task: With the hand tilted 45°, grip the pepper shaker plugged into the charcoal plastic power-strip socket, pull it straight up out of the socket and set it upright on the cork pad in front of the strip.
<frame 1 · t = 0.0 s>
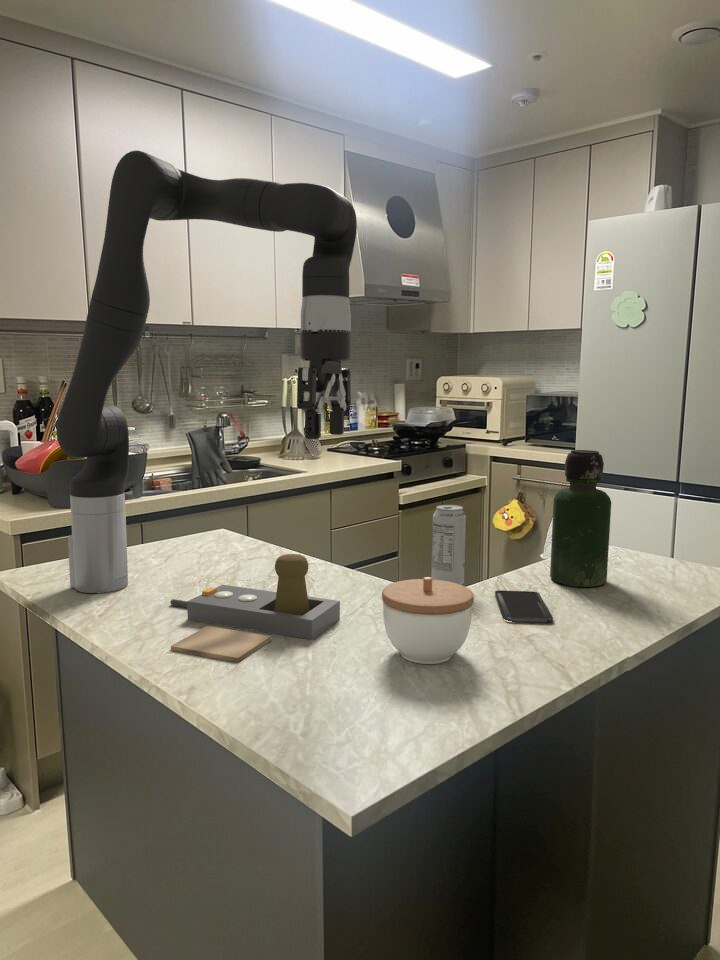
hand: (325, 436, 109), 29 cm above the countertop, tool pointing down, fingers open, 8 cm apart
green bottle: (577, 581, 136), on the countertop
energy drink can: (447, 587, 132), on the countertop
charging strip: (264, 619, 113), on the countertop
lidded bowl: (426, 655, 99), on the countertop
pepper shaker: (291, 624, 111), resting in charging strip
cork pad: (222, 644, 102), on the countertop
phone: (522, 611, 120), on the countertop
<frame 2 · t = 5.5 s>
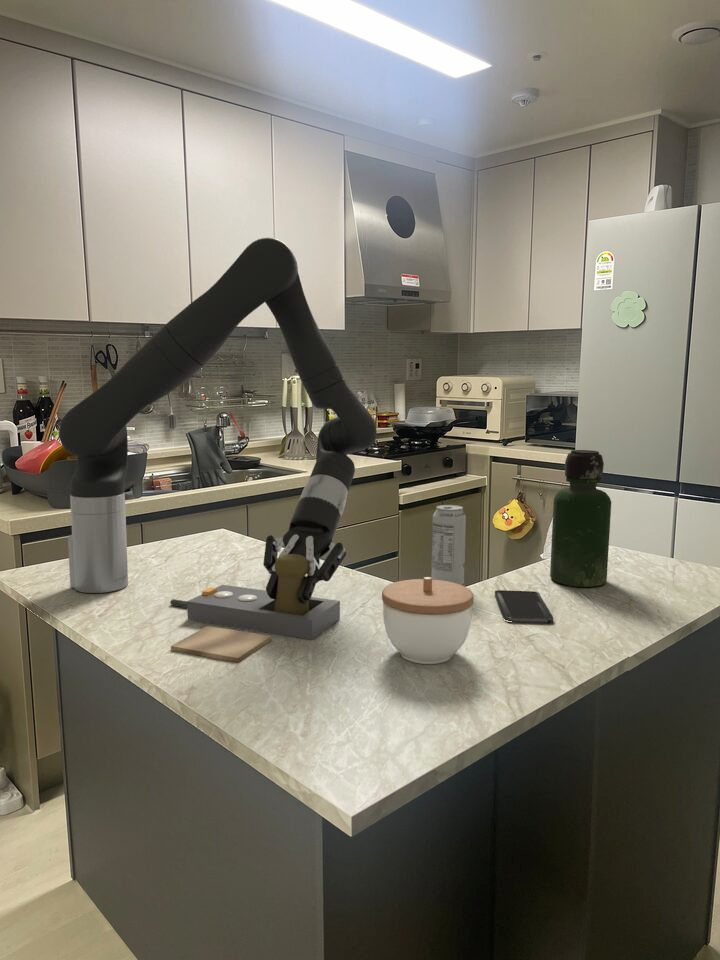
hand: (286, 598, 109), 5 cm above the countertop, tool tilted 45°, fingers closed on pepper shaker, 4 cm apart
pepper shaker: (291, 624, 111), resting in charging strip, touching gripper
everything else where it was.
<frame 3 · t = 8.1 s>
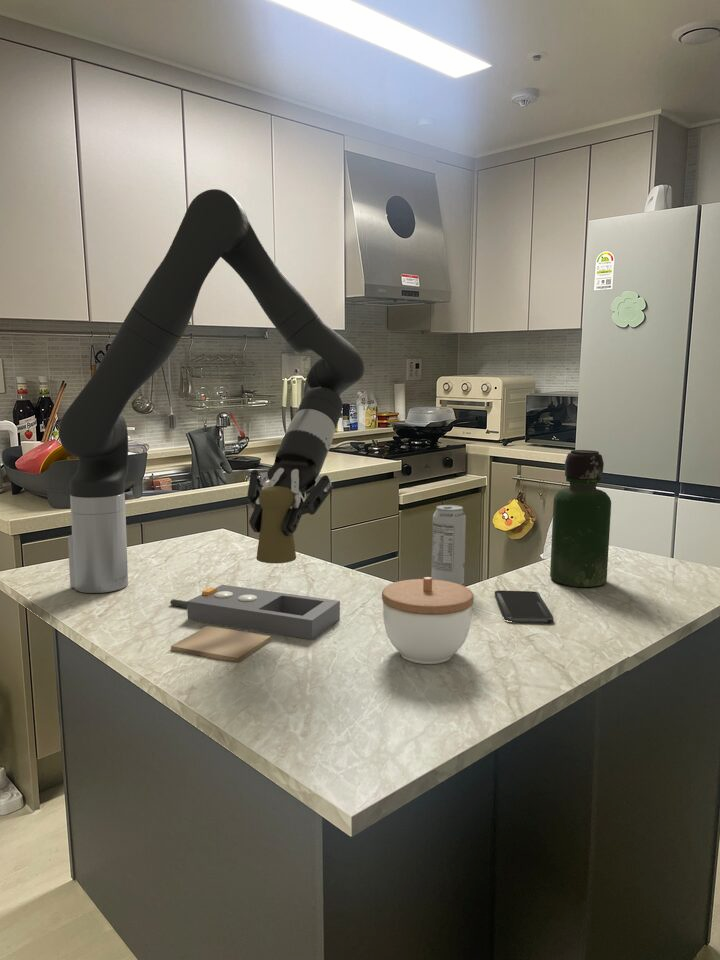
hand: (270, 530, 106), 16 cm above the countertop, tool tilted 45°, fingers closed on pepper shaker, 4 cm apart
pepper shaker: (276, 559, 108), point 11 cm above the countertop, touching gripper
everything else where it was.
when the fingers open (6 cm above the countertop, at t = 10.9 s): pepper shaker drops 1 cm, resting on cork pad.
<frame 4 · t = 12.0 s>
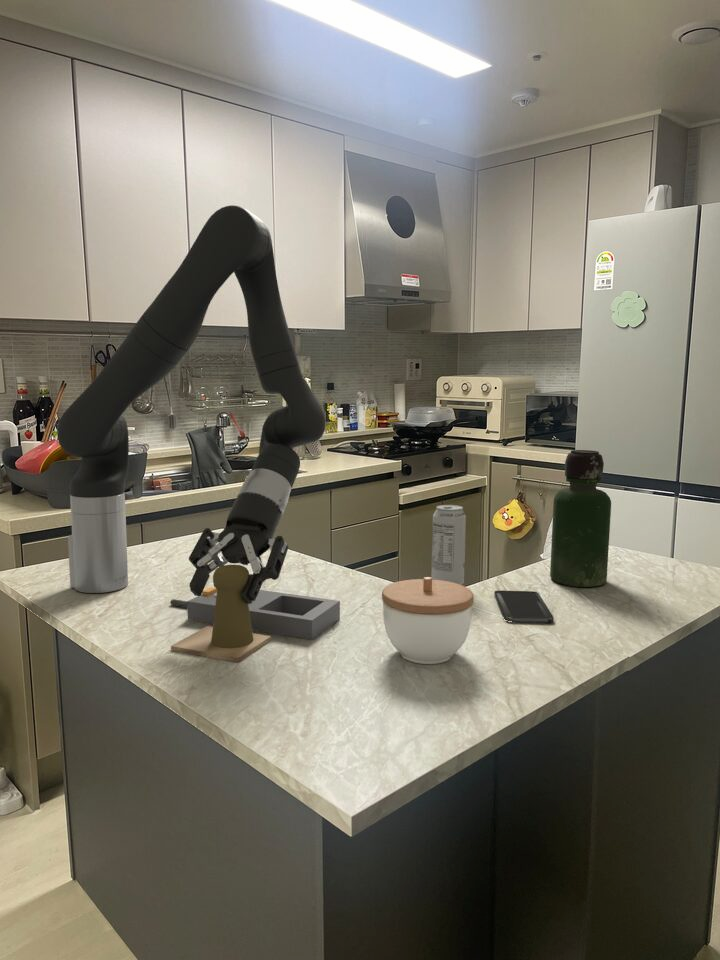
hand: (219, 597, 101), 7 cm above the countertop, tool tilted 45°, fingers open, 8 cm apart
pepper shaker: (232, 641, 102), resting on cork pad, touching gripper
everything else where it was.
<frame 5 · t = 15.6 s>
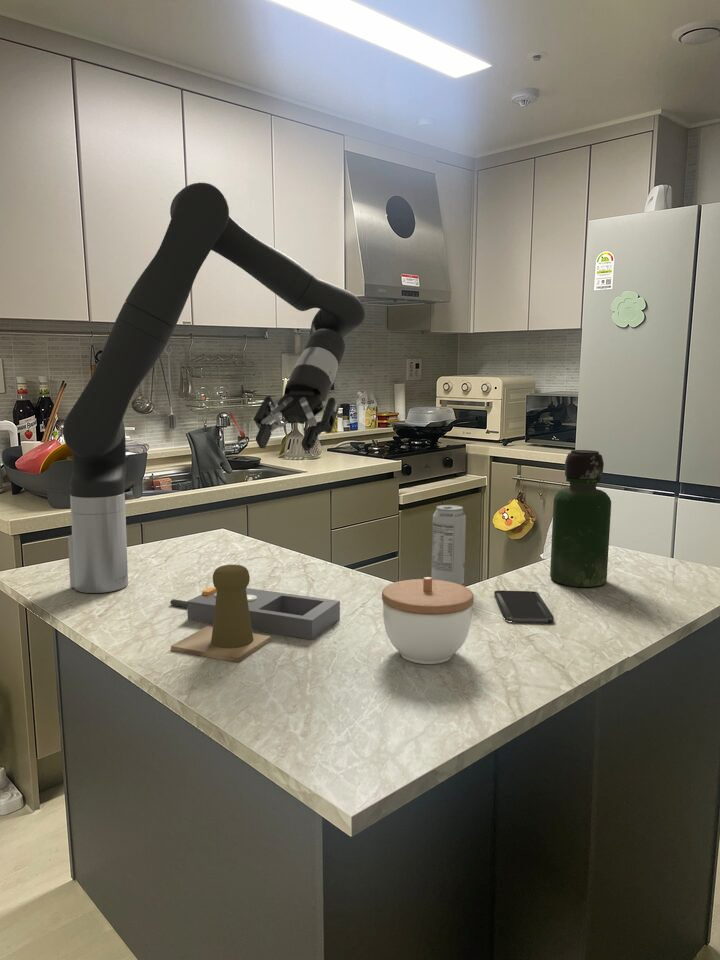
hand: (282, 446, 119), 27 cm above the countertop, tool tilted 45°, fingers open, 8 cm apart
pepper shaker: (232, 641, 102), resting on cork pad
everything else where it was.
at the end: pepper shaker inside the target area on the cork pad (1.5 cm from its centre), point 0.4 cm above the cork pad's base; pepper shaker tilted 0°; pepper shaker touching cork pad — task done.
